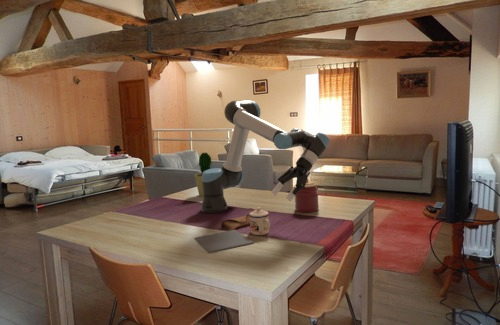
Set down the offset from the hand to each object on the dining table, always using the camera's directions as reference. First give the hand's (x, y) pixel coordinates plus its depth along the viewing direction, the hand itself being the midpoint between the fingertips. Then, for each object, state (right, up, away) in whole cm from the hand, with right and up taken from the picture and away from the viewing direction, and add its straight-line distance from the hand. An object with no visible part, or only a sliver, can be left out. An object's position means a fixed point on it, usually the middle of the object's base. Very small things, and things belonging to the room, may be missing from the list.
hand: (280, 196), depth 175 cm
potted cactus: (-43, -7, +81) cm, 92 cm away
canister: (+17, -10, +33) cm, 39 cm away
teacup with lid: (-9, -17, -2) cm, 19 cm away
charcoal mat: (-26, -18, -10) cm, 33 cm away
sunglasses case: (-19, -16, +11) cm, 27 cm away
